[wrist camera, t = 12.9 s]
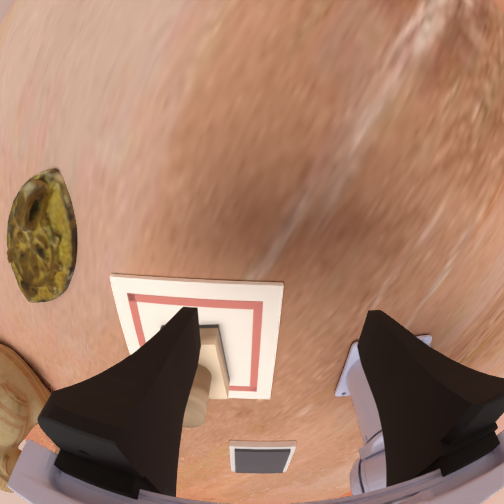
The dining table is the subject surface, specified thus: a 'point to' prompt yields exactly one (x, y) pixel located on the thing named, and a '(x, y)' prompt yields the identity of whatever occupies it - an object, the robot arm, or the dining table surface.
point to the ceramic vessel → (16, 408)
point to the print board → (209, 320)
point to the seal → (42, 237)
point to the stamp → (207, 376)
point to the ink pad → (261, 456)
